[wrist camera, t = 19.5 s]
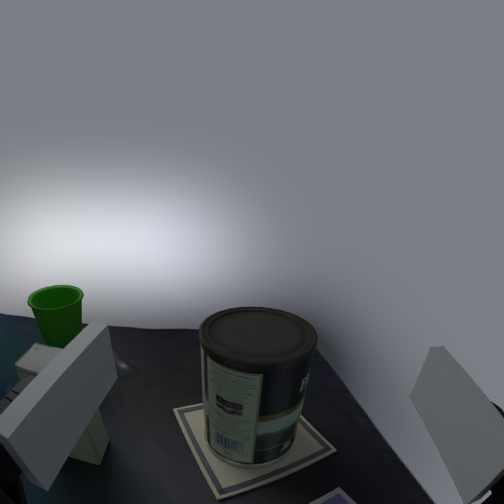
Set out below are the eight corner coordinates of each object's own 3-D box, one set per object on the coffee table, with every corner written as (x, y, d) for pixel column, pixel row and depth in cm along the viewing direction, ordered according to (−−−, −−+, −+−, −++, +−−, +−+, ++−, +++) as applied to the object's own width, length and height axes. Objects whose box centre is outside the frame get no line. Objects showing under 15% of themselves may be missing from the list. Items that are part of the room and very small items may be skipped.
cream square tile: (173, 410, 31) (172, 408, 31) (272, 386, 38) (272, 384, 38) (217, 500, 19) (217, 498, 19) (336, 451, 26) (336, 449, 26)
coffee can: (291, 406, 33) (308, 308, 30) (299, 469, 23) (329, 364, 20) (209, 401, 33) (208, 302, 30) (196, 463, 23) (187, 357, 20)
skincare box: (52, 451, 20) (10, 364, 17) (65, 426, 24) (33, 341, 21) (102, 466, 20) (65, 380, 17) (112, 438, 25) (85, 351, 22)
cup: (101, 348, 42) (91, 286, 39) (85, 381, 33) (68, 311, 30) (56, 342, 40) (44, 283, 38) (35, 371, 32) (16, 305, 29)
